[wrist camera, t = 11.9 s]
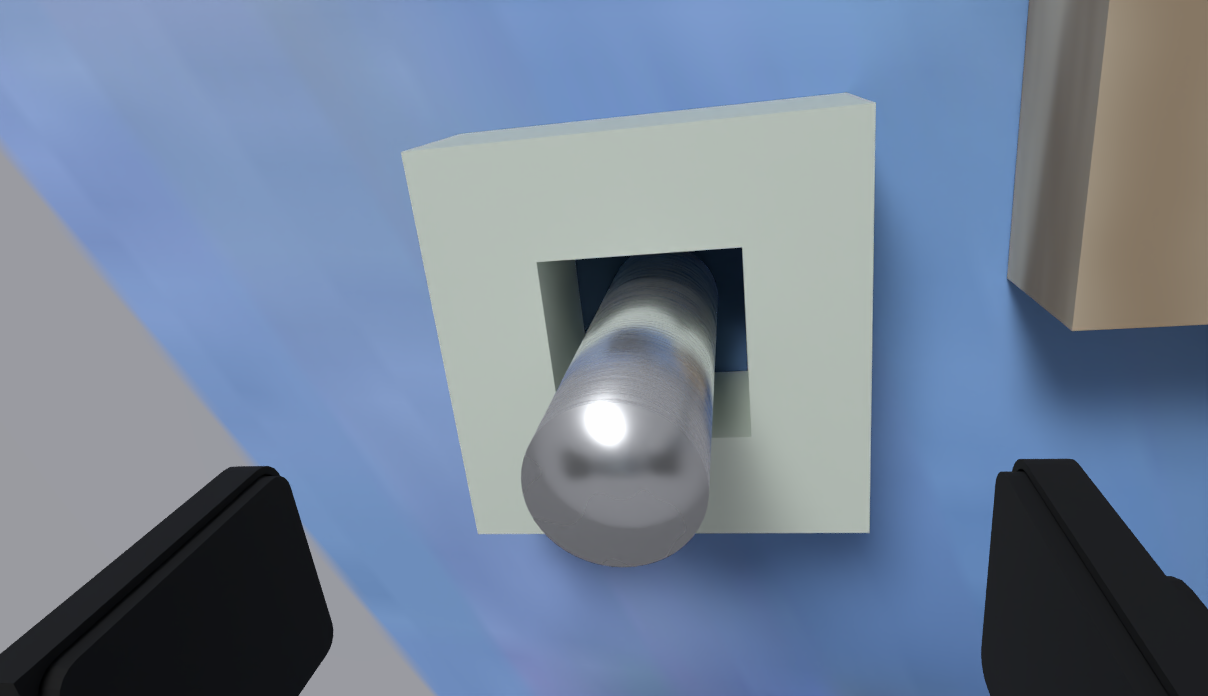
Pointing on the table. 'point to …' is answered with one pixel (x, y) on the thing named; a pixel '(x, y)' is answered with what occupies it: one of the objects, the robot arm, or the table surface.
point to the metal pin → (632, 420)
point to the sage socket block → (663, 225)
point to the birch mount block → (1114, 163)
